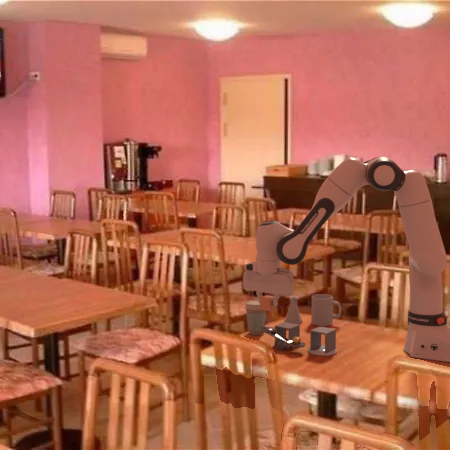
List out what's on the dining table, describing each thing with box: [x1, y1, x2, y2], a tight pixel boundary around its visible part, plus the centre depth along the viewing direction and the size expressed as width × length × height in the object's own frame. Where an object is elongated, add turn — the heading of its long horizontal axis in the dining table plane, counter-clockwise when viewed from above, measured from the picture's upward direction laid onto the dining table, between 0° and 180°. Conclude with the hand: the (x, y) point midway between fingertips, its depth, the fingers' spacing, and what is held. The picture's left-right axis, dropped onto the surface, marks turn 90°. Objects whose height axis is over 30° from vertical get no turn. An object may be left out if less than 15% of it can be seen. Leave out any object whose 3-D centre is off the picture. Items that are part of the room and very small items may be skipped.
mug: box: [310, 293, 342, 327], centre depth 305 cm, size 12×8×11 cm
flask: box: [284, 296, 303, 325], centre depth 308 cm, size 7×7×10 cm
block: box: [260, 294, 277, 312], centre depth 274 cm, size 4×4×4 cm
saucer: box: [307, 344, 338, 357], centre depth 269 cm, size 10×10×1 cm
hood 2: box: [309, 326, 337, 353], centre depth 269 cm, size 6×6×7 cm
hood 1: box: [274, 321, 301, 349], centre depth 278 cm, size 6×6×7 cm
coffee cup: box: [244, 299, 268, 336], centre depth 292 cm, size 8×9×12 cm
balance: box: [260, 326, 306, 352], centre depth 273 cm, size 18×6×6 cm, turn 51°
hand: (268, 304), depth 275 cm, fingers closed on block, 4 cm apart
